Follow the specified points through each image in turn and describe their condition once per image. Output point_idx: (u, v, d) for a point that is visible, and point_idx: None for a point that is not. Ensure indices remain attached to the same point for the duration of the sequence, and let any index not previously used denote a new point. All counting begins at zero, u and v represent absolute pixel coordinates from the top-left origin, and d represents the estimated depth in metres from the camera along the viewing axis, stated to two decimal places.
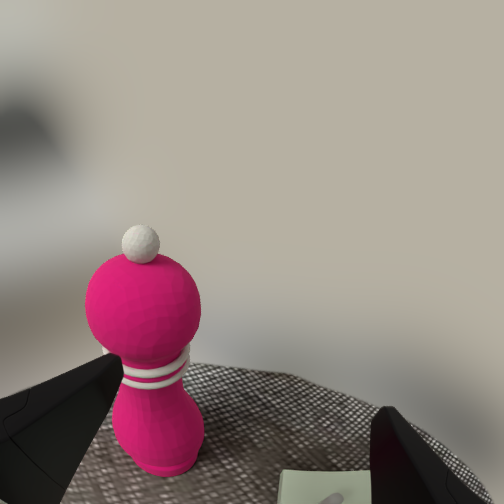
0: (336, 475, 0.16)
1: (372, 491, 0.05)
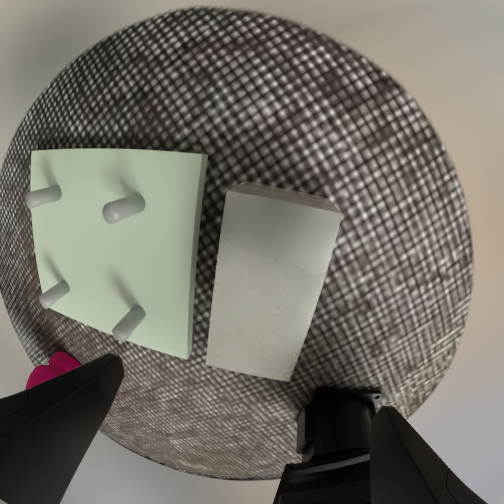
0: (39, 263, 0.19)
1: (372, 491, 0.05)
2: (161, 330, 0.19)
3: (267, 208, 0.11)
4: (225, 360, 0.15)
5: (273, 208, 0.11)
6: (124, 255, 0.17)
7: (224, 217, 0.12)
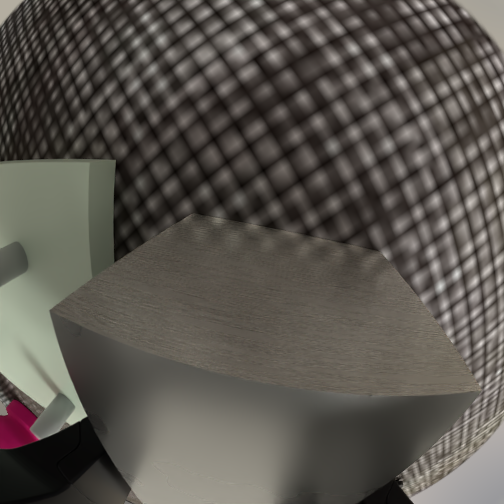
0: None
1: None
2: None
3: (202, 399, 0.02)
4: None
5: (228, 402, 0.02)
6: (27, 330, 0.08)
7: (75, 384, 0.03)
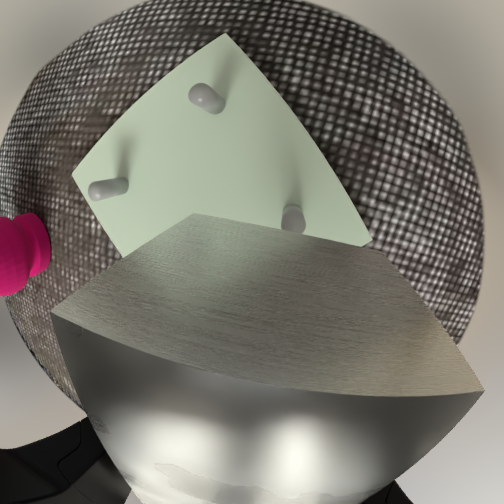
0: (110, 134, 0.15)
1: None
2: None
3: (205, 401, 0.02)
4: None
5: (231, 404, 0.02)
6: None
7: (76, 385, 0.03)
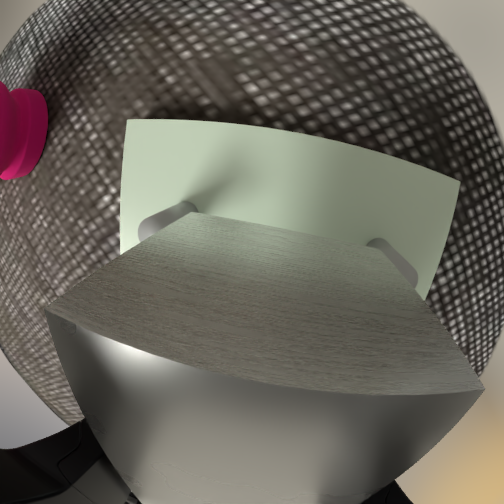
0: (228, 134, 0.10)
1: None
2: None
3: (198, 399, 0.02)
4: None
5: (224, 402, 0.02)
6: None
7: (71, 384, 0.03)
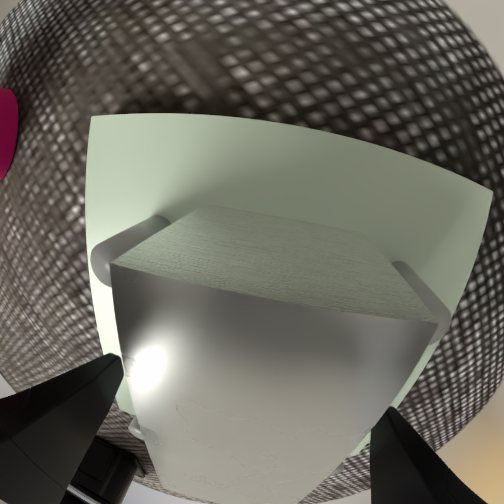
0: (209, 129, 0.07)
1: (372, 491, 0.05)
2: None
3: (225, 318, 0.04)
4: (188, 491, 0.07)
5: (243, 319, 0.04)
6: None
7: (119, 328, 0.04)
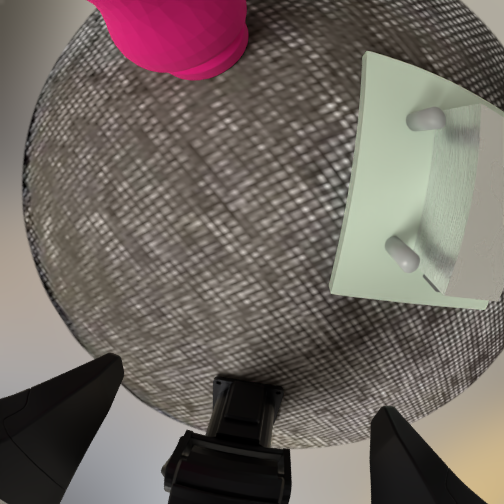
0: (433, 79, 0.11)
1: (372, 491, 0.05)
2: (370, 269, 0.16)
3: (503, 124, 0.07)
4: (462, 284, 0.11)
5: None
6: None
7: (481, 125, 0.08)
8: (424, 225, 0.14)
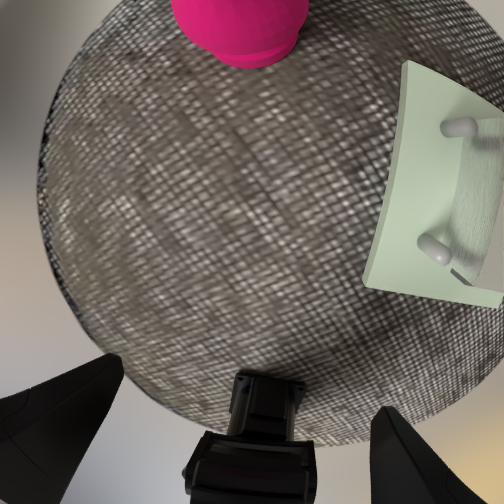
0: (463, 91, 0.12)
1: (372, 491, 0.05)
2: (402, 264, 0.16)
3: None
4: (490, 277, 0.11)
5: None
6: None
7: None
8: (452, 224, 0.14)
